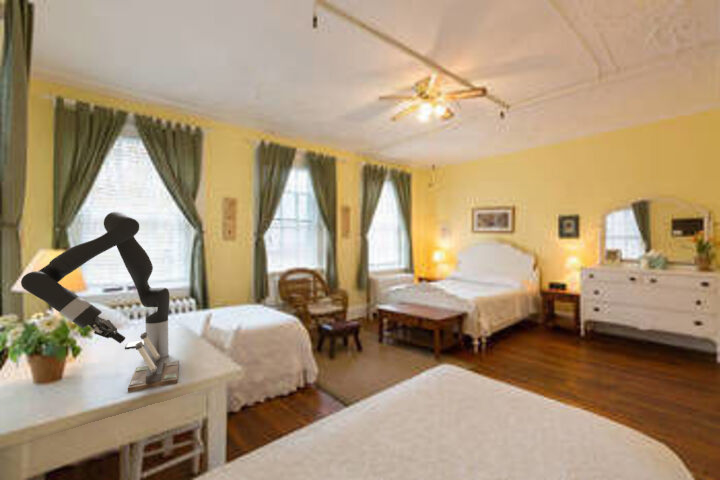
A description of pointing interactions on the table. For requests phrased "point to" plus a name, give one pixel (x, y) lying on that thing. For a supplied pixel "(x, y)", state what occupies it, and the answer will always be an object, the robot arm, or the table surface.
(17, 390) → the table surface
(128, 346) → the phone case
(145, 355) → the lever outer
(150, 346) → the lever inner
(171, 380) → the switch board
